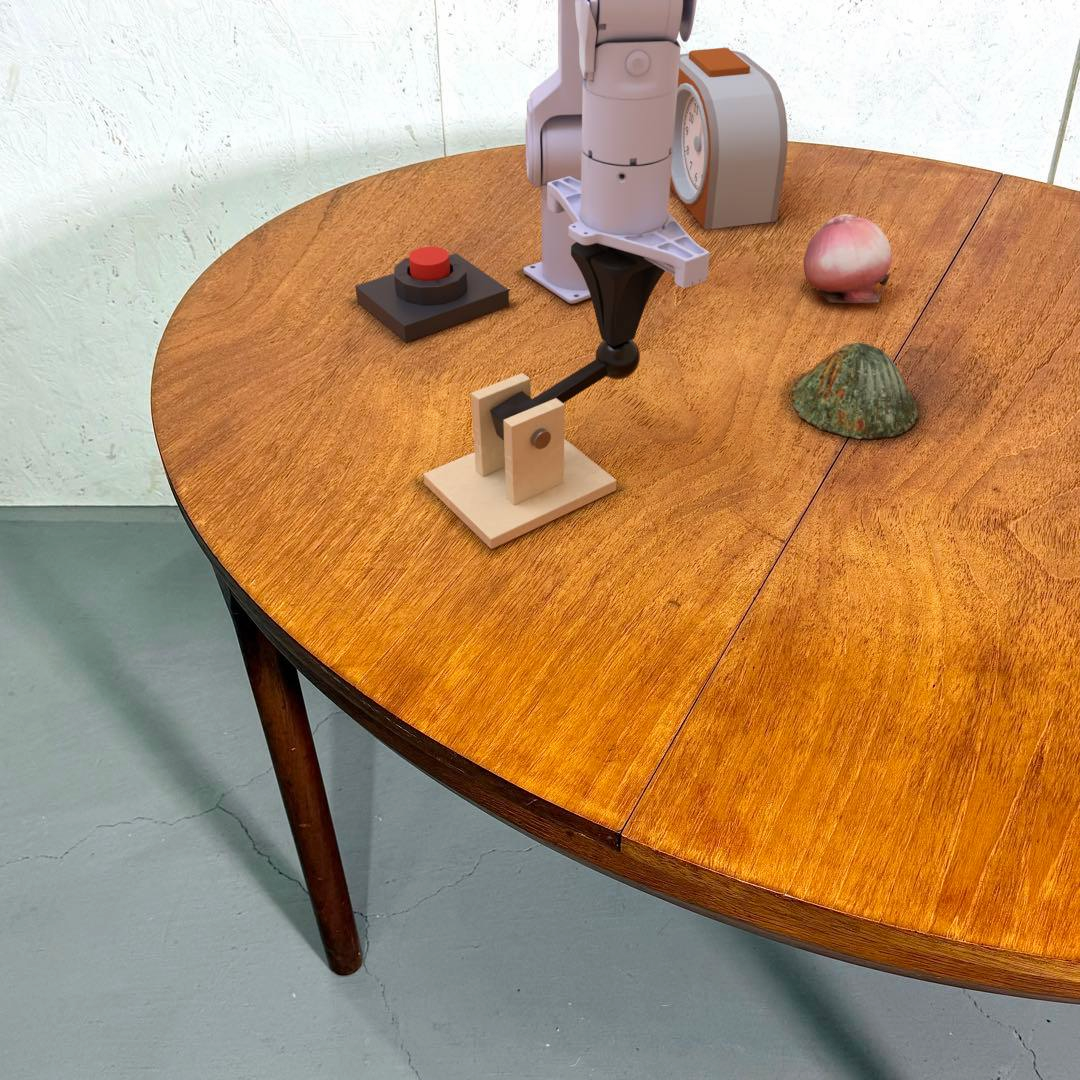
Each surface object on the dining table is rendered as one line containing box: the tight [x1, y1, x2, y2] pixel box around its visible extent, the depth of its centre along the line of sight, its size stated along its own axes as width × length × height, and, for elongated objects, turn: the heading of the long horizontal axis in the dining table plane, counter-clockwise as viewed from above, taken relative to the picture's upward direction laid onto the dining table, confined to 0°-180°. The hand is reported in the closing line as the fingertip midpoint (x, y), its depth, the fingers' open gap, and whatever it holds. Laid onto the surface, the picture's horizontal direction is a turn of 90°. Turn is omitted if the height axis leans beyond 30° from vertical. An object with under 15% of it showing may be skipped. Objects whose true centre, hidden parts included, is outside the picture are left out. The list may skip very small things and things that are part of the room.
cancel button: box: [408, 246, 450, 281], centre depth 96 cm, size 4×4×2 cm
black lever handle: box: [490, 339, 641, 441], centre depth 75 cm, size 12×3×3 cm, turn 126°
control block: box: [355, 253, 510, 344], centre depth 97 cm, size 11×9×4 cm
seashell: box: [790, 342, 919, 440], centre depth 85 cm, size 10×4×10 cm
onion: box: [803, 213, 893, 304], centre depth 97 cm, size 8×8×7 cm
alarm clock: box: [670, 47, 789, 231], centre depth 111 cm, size 15×8×14 cm, turn 14°
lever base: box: [422, 372, 617, 550], centre depth 75 cm, size 11×9×8 cm
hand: (618, 338), depth 75 cm, fingers closed, pressing on black lever handle
